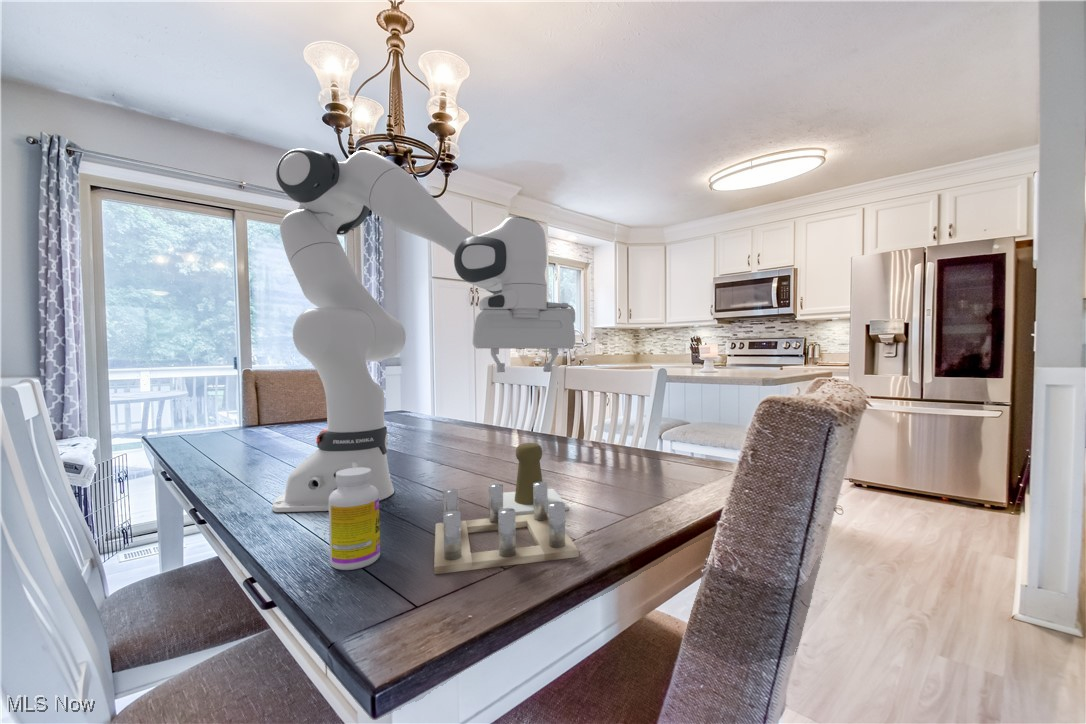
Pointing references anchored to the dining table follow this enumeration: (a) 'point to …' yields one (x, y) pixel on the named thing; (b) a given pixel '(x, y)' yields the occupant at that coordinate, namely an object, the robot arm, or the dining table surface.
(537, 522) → the board
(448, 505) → the steel spacers
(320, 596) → the dining table surface
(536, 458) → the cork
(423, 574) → the dining table surface
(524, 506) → the mat
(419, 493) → the dining table surface
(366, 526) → the supplement bottle
